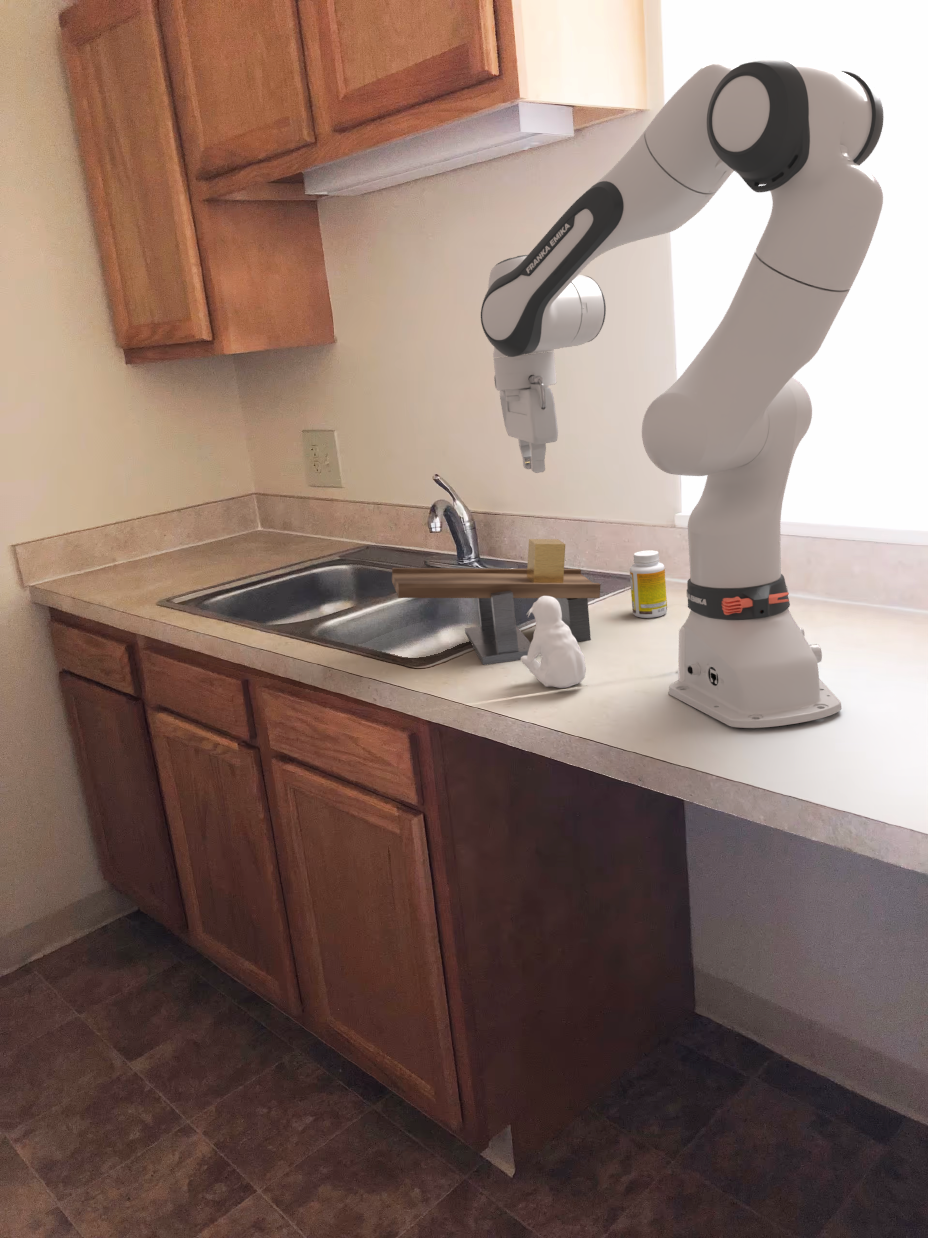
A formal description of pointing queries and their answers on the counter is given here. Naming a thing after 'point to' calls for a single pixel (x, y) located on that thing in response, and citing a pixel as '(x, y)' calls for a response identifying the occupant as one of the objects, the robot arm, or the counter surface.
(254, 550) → the counter surface
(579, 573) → the beam
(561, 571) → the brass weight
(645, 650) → the counter surface
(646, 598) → the supplement bottle
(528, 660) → the white seated figurine
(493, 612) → the trestle
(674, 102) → the robot arm
